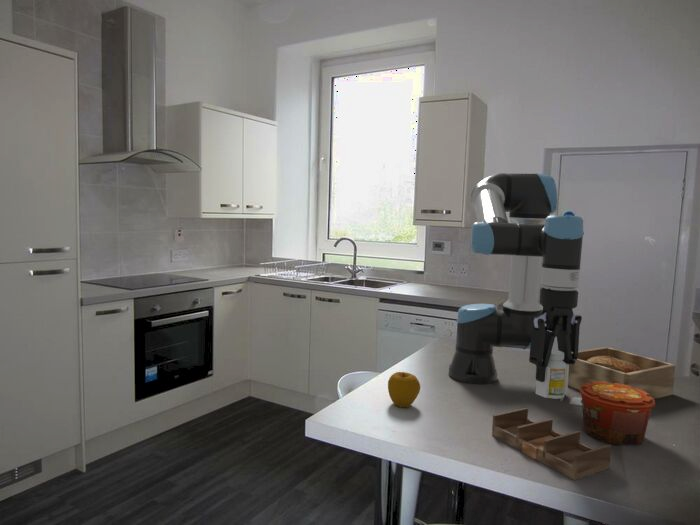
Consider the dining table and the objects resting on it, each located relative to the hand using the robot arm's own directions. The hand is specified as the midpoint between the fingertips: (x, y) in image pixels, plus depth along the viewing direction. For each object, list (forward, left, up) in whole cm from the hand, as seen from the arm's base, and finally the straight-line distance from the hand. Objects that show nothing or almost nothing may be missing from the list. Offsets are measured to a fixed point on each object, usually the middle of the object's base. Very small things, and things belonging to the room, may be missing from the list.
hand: (551, 393), depth 107 cm
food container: (+1, +22, -13) cm, 26 cm away
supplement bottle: (0, 0, 0) cm, 1 cm away
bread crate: (-20, +55, -13) cm, 60 cm away
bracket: (-17, +34, -14) cm, 40 cm away
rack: (0, 0, -13) cm, 13 cm away
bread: (-20, +55, -13) cm, 60 cm away
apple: (-35, -14, -13) cm, 40 cm away
